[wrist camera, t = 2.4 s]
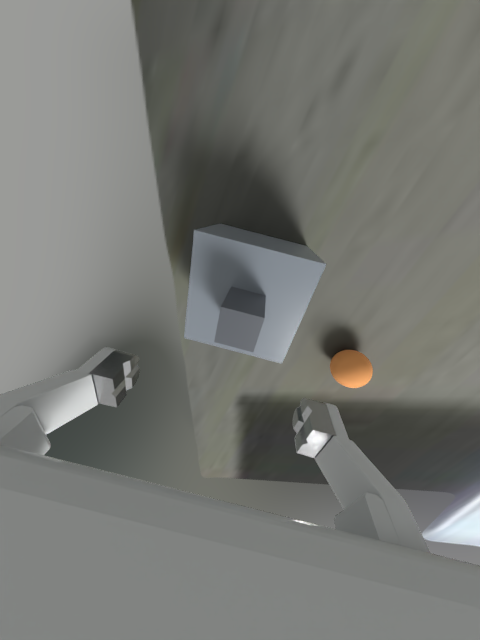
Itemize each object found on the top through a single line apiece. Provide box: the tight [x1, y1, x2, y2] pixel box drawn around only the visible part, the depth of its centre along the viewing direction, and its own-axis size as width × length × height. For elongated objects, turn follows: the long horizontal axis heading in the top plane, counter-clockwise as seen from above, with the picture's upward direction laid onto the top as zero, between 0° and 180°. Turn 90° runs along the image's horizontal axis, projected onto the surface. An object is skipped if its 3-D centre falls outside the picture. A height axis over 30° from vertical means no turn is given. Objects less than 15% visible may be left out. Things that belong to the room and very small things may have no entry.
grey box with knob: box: [184, 224, 326, 364], centre depth 19 cm, size 10×10×13 cm
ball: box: [330, 350, 373, 388], centre depth 27 cm, size 5×5×5 cm
